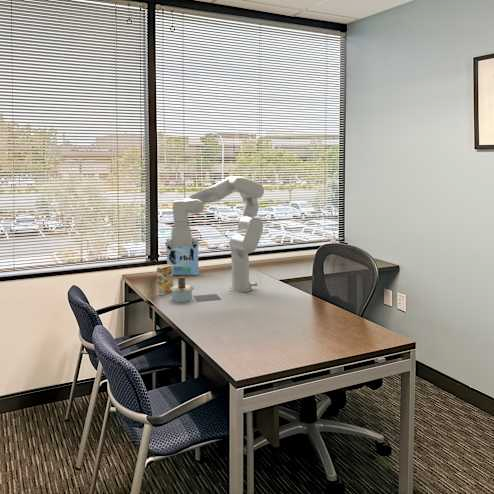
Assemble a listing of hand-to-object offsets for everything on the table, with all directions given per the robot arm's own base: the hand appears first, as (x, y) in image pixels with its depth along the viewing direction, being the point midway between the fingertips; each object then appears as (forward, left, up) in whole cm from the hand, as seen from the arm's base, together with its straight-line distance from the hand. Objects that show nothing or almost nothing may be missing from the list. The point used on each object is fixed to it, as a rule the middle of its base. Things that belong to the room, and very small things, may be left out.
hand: (182, 257), depth 274 cm
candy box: (+7, -16, -23) cm, 29 cm away
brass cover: (+1, +1, -16) cm, 16 cm away
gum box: (-11, -63, -23) cm, 68 cm away
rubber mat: (-12, +2, -22) cm, 26 cm away
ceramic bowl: (+1, +1, -22) cm, 22 cm away
